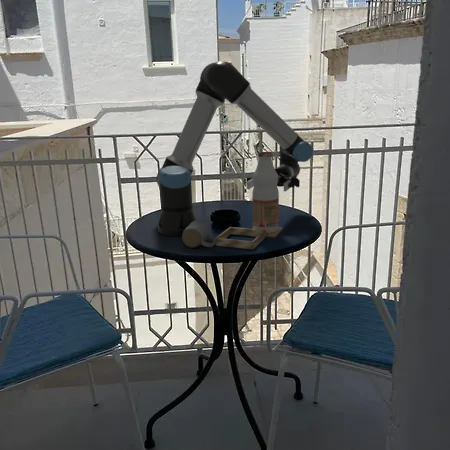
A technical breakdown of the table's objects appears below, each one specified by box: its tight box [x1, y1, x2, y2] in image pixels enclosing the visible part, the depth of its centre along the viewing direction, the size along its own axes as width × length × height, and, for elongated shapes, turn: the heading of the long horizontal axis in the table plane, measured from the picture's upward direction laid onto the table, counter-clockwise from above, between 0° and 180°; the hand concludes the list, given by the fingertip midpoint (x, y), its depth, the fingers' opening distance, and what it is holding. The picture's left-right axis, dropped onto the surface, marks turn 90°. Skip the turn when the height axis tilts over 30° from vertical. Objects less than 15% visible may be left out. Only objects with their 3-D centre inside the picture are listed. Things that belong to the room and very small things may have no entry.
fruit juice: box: [251, 151, 280, 233], centre depth 162 cm, size 9×9×28 cm
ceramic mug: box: [181, 219, 215, 249], centre depth 154 cm, size 11×8×8 cm
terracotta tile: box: [265, 226, 283, 238], centre depth 166 cm, size 10×10×1 cm
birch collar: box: [214, 226, 267, 250], centre depth 157 cm, size 14×14×2 cm
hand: (265, 186), depth 161 cm, fingers open, 13 cm apart
